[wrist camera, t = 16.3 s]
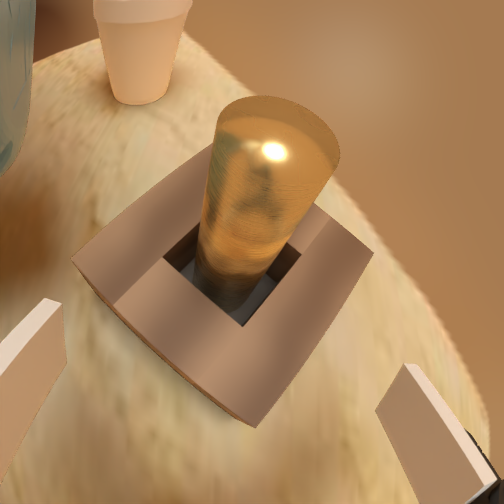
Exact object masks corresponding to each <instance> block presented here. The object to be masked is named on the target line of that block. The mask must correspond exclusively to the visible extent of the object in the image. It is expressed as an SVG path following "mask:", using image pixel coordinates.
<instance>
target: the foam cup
mask: <svg viewBox="0 0 504 504" xmlns="http://www.w3.org/2000/svg"><path fill="white" fill-rule="evenodd" d="M192 2H193V0H93V3H94V4H93V8H94V18H96V20H97V25H98V30H99V35H100V40H101V45H102V50H103V54H104V59H105V63H106V67H107V71H108V75H109V80H110V84H111V88H112V91H113V94H114V98H115V99H117V100H118V101H119V102H120V103H124V104H128V105H145V104H148V103H151V102H154V101H157V100H158V99H159V98H161V97H162V96H164V95H165V93H166V91H167V88H168V84H169V81H170V77H171V72H172V68H173V64H174V60H175V56H176V52H177V48H178V45H179V41H180V37H181V34H182V30H183V27H184V23H185V20H186V17H187V13H188V10H189V9H190V8H191V6H192Z"/></svg>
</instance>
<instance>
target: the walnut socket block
mask: <svg viewBox="0 0 504 504" xmlns="http://www.w3.org/2000/svg"><path fill="white" fill-rule="evenodd" d="M212 146H213V143H212V144H210V145H209V146H208V147H206V148H205V149H203V150H202V151H201V152H199V153H198V154H196V155H195V156H194V157H192V158H191V159H189V160H188V161H187V162H185V163H184V164H183V165H181V166H180V167H178V168H177V169H176V170H174V171H173V172H172V173H170V174H169V175H168V176H167V177H165V178H164V179H163V180H161V181H160V182H159V183H157V184H156V185H155V186H154V187H152V188H151V189H150V190H149V191H147V192H146V193H145V194H144V195H142V196H141V197H140V198H139V199H137V200H136V201H135V202H134V203H132V204H131V205H130V206H129V207H128V208H126V209H125V210H124V211H123V212H122V213H120V214H119V215H118V216H117V217H116V218H115V219H113V220H112V221H111V222H110V223H109V224H108V225H107V226H105V227H104V228H103V229H102V230H101V231H100V232H99V233H97V234H96V235H95V236H94V237H93V238H92V239H91V240H90V241H89V242H87V243H86V244H85V245H84V246H83V247H82V248H81V249H80V250H79V251H78V252H77V253H76V254H75V255H74V256H72V257H71V258H70V259H71V260H72V262H73V263H74V264H75V266H76V267H77V269H78V270H79V271H80V273H81V274H82V275H83V277H84V278H85V280H86V281H87V282H88V284H89V285H90V286H91V287H92V289H93V290H94V291H95V293H96V294H97V295H98V296H99V297H100V298H101V299H102V300H103V301H104V302H105V303H106V304H107V306H108V307H109V308H110V309H111V310H112V311H113V312H114V313H115V314H116V315H117V316H118V317H119V318H120V319H121V320H122V321H123V322H124V323H125V324H126V325H127V326H128V327H129V328H130V329H131V330H132V331H133V332H134V333H135V334H136V335H137V336H138V337H139V338H140V339H141V340H142V341H143V342H144V343H146V344H147V345H148V346H149V347H150V348H151V349H152V350H153V351H154V352H155V353H156V354H157V355H158V356H160V357H161V358H162V359H163V360H164V361H165V362H166V363H167V364H168V365H170V366H171V367H172V368H173V369H174V370H175V371H176V372H178V373H179V374H180V375H181V376H182V377H183V378H185V379H186V380H187V381H188V382H189V383H191V384H192V385H193V386H194V387H195V388H197V389H198V390H199V391H200V392H202V393H203V394H204V395H205V396H207V397H208V398H209V399H210V400H212V401H213V402H214V403H215V404H217V405H218V406H219V407H221V408H222V409H223V410H224V411H226V412H227V413H228V414H230V415H231V416H232V417H234V418H235V419H237V420H239V421H241V422H243V423H245V424H247V425H250V426H252V427H254V428H256V427H257V426H258V424H259V423H260V422H261V421H262V419H263V418H264V417H265V416H266V414H267V413H268V412H269V411H270V409H271V408H272V407H273V405H274V404H275V403H276V401H277V400H278V399H279V397H280V396H281V395H282V394H283V392H284V391H285V389H286V388H287V387H288V385H289V384H290V383H291V381H292V380H293V379H294V377H295V376H296V374H297V373H298V372H299V370H300V369H301V367H302V366H303V365H304V363H305V362H306V360H307V359H308V358H309V356H310V355H311V353H312V352H313V350H314V349H315V347H316V346H317V344H318V343H319V341H320V340H321V338H322V337H323V335H324V334H325V332H326V331H327V329H328V328H329V326H330V325H331V323H332V322H333V320H334V319H335V317H336V316H337V314H338V312H339V311H340V309H341V308H342V306H343V304H344V303H345V301H346V300H347V298H348V296H349V295H350V293H351V291H352V290H353V288H354V286H355V285H356V283H357V281H358V280H359V278H360V276H361V275H362V273H363V271H364V270H365V268H366V266H367V264H368V263H369V261H370V259H371V257H372V256H373V254H374V253H373V252H372V251H371V250H370V249H369V248H368V247H367V246H365V245H364V244H363V243H362V242H361V241H360V240H358V239H357V238H356V237H355V236H354V235H352V234H351V233H350V232H349V231H348V230H346V229H345V228H344V227H343V226H342V225H340V224H339V223H338V222H337V221H336V220H334V219H333V218H332V217H331V216H329V215H328V214H327V213H326V212H324V211H323V210H322V209H321V208H319V207H318V206H317V205H316V204H314V203H313V204H312V205H311V207H310V208H309V210H308V211H307V213H306V214H305V216H304V217H303V219H302V220H301V222H300V223H299V225H298V226H297V228H296V229H295V231H294V232H293V233H292V235H291V236H290V238H289V239H288V241H287V242H286V244H285V245H284V247H283V248H282V250H281V251H280V253H279V254H278V255H277V257H276V258H275V260H274V261H273V263H272V264H271V266H270V267H269V268H268V270H267V271H266V273H265V274H264V276H263V277H262V279H261V280H260V281H259V283H258V284H257V286H256V287H255V289H254V290H253V292H252V293H251V294H250V296H249V297H248V299H247V300H246V302H245V303H244V304H243V305H242V306H241V307H240V308H239V309H237V310H236V311H233V312H231V313H225V312H224V311H223V310H221V309H220V308H219V307H218V306H217V305H216V304H214V303H213V302H212V301H211V300H210V299H209V298H207V297H206V296H205V295H204V294H203V293H202V292H201V291H199V290H198V289H197V288H196V287H195V286H194V285H193V284H192V280H193V272H194V264H195V257H196V249H197V242H198V234H199V227H200V220H201V214H202V207H203V200H204V194H205V188H206V182H207V175H208V169H209V164H210V158H211V152H212Z"/></svg>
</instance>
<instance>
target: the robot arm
mask: <svg viewBox="0 0 504 504" xmlns="http://www.w3.org/2000/svg"><path fill="white" fill-rule="evenodd" d="M35 8H36V0H0V177H1V176H2V175H3V174H4V173H5V172H6V171H7V170H8V169H9V168H10V166H11V165H12V164H13V162H14V161H15V159H16V157H17V155H18V153H19V151H20V148H21V146H22V143H23V140H24V136H25V132H26V128H27V122H28V115H29V106H30V95H31V82H32V65H33V45H34V27H35ZM66 364H67V358H66V350H65V340H64V328H63V312H62V303H59V302H56V301H53V300H50V299H47V298H44V299H43V300H42V301H41V302H40V303H39V304H38V305H37V306H36V307H35V308H34V309H33V310H32V311H31V312H30V313H29V314H28V315H27V316H26V317H25V318H24V319H23V320H22V321H21V322H20V323H19V324H18V325H17V326H16V327H15V328H14V329H13V330H12V331H11V332H10V333H9V334H8V335H7V337H6V338H5V339H4V340H3V341H2V342H1V343H0V485H1V483H2V481H3V479H4V476H5V474H6V472H7V470H8V468H9V466H10V464H11V462H12V460H13V458H14V456H15V454H16V452H17V450H18V448H19V446H20V444H21V442H22V440H23V438H24V436H25V434H26V432H27V430H28V429H29V427H30V425H31V423H32V421H33V419H34V418H35V416H36V414H37V412H38V411H39V409H40V407H41V405H42V403H43V402H44V400H45V398H46V397H47V395H48V393H49V392H50V390H51V388H52V386H53V385H54V383H55V381H56V380H57V378H58V377H59V375H60V373H61V372H62V370H63V368H64V367H65V365H66ZM375 412H376V414H377V416H378V418H379V420H380V422H381V424H382V426H383V428H384V430H385V432H386V434H387V436H388V438H389V440H390V442H391V444H392V446H393V448H394V450H395V452H396V454H397V456H398V459H399V461H400V463H401V465H402V467H403V469H404V471H405V473H406V475H407V478H408V480H409V482H410V484H411V486H412V488H413V491H414V493H415V495H416V497H417V499H418V501H419V504H504V480H501V478H500V477H499V476H498V474H497V473H496V471H495V470H494V468H493V466H492V465H491V463H490V462H489V460H488V459H487V457H486V456H485V454H484V453H482V450H481V448H480V447H479V446H477V442H476V441H475V439H474V438H473V436H472V435H471V434H470V433H469V432H468V431H466V430H465V429H464V428H463V427H462V425H461V424H460V422H459V421H458V419H457V418H456V417H455V415H454V414H453V412H452V411H451V410H450V408H449V407H448V405H447V404H446V403H445V401H444V400H443V398H442V397H441V396H440V394H439V393H438V392H437V390H436V389H435V388H434V386H433V385H432V384H431V382H430V381H429V379H428V378H427V377H426V375H425V374H424V373H423V372H422V370H421V369H420V368H419V366H418V365H417V364H406V363H403V365H402V367H401V369H400V371H399V372H398V374H397V376H396V377H395V379H394V381H393V382H392V384H391V386H390V387H389V389H388V391H387V392H386V394H385V396H384V397H383V399H382V400H381V402H380V403H379V405H378V406H377V408H376V409H375Z"/></svg>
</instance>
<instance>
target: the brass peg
mask: <svg viewBox="0 0 504 504" xmlns="http://www.w3.org/2000/svg"><path fill="white" fill-rule="evenodd" d="M339 159H340V149H339V145H338V142H337V139H336V137H335V135H334V134H333V132H332V131H331V129H330V128H329V127H328V126H327V124H326V123H325V122H324V121H323V120H322V119H321V118H319V117H318V116H317V115H316V114H314V113H313V112H311V111H310V110H308V109H306V108H305V107H303V106H301V105H299V104H296V103H294V102H292V101H289V100H285V99H282V98H277V97H271V96H250V97H245V98H241V99H238V100H236V101H234V102H232V103H230V104H229V105H227V106H226V107H225V108H224V109H223V110H222V112H221V113H220V115H219V117H218V120H217V125H216V130H215V135H214V141H213V146H212V152H211V158H210V164H209V169H208V175H207V182H206V188H205V194H204V200H203V207H202V214H201V220H200V227H199V234H198V242H197V249H196V257H195V264H194V272H193V280H192V284H193V285H194V286H195V287H196V288H197V289H198V290H199V291H201V292H202V293H203V294H204V295H205V296H206V297H207V298H209V299H210V300H211V301H212V302H213V303H214V304H216V305H217V306H218V307H219V308H220V309H221V310H223V311H224V312H225V313H231V312H233V311H236V310H237V309H239V308H240V307H241V306H242V305H243V304H244V303H245V302H246V300H247V299H248V297H249V296H250V294H251V293H252V292H253V290H254V289H255V287H256V286H257V284H258V283H259V281H260V280H261V279H262V277H263V276H264V274H265V273H266V271H267V270H268V268H269V267H270V266H271V264H272V263H273V261H274V260H275V258H276V257H277V255H278V254H279V253H280V251H281V250H282V248H283V247H284V245H285V244H286V242H287V241H288V239H289V238H290V236H291V235H292V233H293V232H294V231H295V229H296V228H297V226H298V225H299V223H300V222H301V220H302V219H303V217H304V216H305V214H306V213H307V211H308V210H309V208H310V207H311V205H312V204H313V202H314V201H315V199H316V198H317V196H318V195H319V193H320V192H321V190H322V189H323V187H324V186H325V184H326V183H327V181H328V180H329V178H330V177H331V175H332V174H333V172H334V171H335V169H336V168H337V166H338V163H339Z"/></svg>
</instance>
